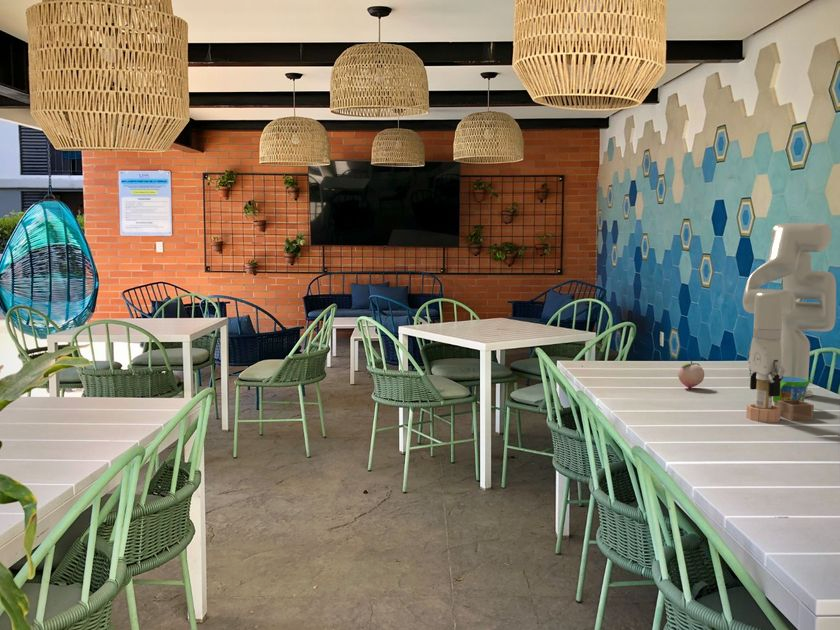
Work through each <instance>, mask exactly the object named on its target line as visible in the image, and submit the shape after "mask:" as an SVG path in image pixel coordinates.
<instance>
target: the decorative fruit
mask: <svg viewBox="0 0 840 630" xmlns="http://www.w3.org/2000/svg"><path fill="white" fill-rule="evenodd" d="M700 365H701V364H699V363H697V362H693V360H690V363H683V364H682V365H681V367H680V368H679V369H678V371H677V377H678V380H679V381H680V383H682V385H684V387H686V388H688V389H692V388H693V387H696V386H698V385H700V384H702V382H703V381H704V378H705V370H704V369H703V367H702V366H700Z"/></svg>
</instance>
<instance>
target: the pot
mask: <svg viewBox="0 0 840 630" xmlns="http://www.w3.org/2000/svg"><path fill="white" fill-rule="evenodd" d="M755 405H756V403H748V404H746V415H745V416H746V419H748V420H750V421H756V422H760V423H762V422H763V423H777V422H780V421H781V417H780V407H778V406H775V405H774V404H772V407H771V409H768V410H767V409H758V408H756V406H755Z"/></svg>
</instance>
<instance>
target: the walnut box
mask: <svg viewBox="0 0 840 630" xmlns="http://www.w3.org/2000/svg"><path fill="white" fill-rule="evenodd" d="M814 405H815V404H812V403H809V402H807V401H805V400H804V401H801V400H781V401H778V403H777V406H778V407H780V418H782V419H785V420H788V421H791V422H794V421H813V420H814V412H815V411H814V408H815V406H814Z"/></svg>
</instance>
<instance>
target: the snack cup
mask: <svg viewBox="0 0 840 630" xmlns="http://www.w3.org/2000/svg"><path fill="white" fill-rule="evenodd" d="M773 378H774V377H773ZM809 385H810V381H809V379H808V380H807V379H804V378H799V377H790V376H783V379H782V382H781V383H780V396H772V402H773V403H774V404H773V405H775V406H777V403H778V401H781V400H801V401H804V402H805V398H806V397H805V393H806V388H807V386H808V387H809Z"/></svg>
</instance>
